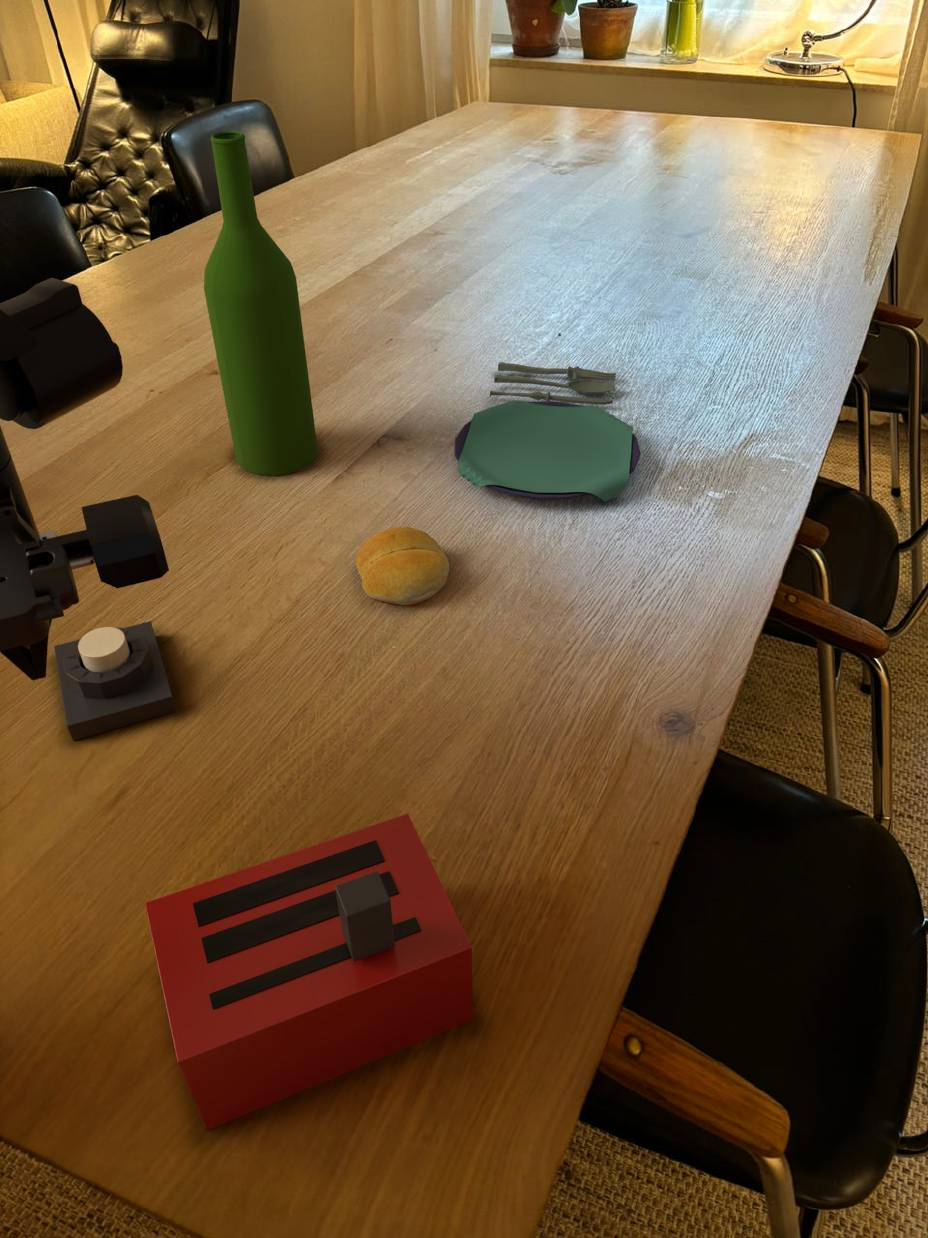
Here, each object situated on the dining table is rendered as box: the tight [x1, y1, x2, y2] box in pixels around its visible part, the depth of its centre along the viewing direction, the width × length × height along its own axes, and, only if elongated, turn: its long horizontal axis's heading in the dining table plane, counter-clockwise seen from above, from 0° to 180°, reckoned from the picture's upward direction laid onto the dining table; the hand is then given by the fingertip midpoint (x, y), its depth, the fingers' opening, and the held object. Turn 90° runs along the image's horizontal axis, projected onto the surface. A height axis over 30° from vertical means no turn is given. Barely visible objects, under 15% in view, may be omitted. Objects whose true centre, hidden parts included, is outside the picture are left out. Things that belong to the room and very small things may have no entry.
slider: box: [335, 872, 395, 962], centre depth 53 cm, size 2×2×4 cm
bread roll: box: [355, 526, 450, 606], centre depth 90 cm, size 8×9×4 cm
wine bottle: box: [203, 130, 318, 477], centre depth 98 cm, size 9×9×32 cm
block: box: [53, 620, 177, 742], centre depth 80 cm, size 8×10×4 cm
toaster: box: [144, 813, 474, 1131], centre depth 58 cm, size 16×10×8 cm, turn 113°
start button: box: [78, 626, 130, 673], centre depth 79 cm, size 4×4×2 cm
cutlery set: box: [454, 361, 642, 503], centre depth 110 cm, size 20×30×2 cm, turn 170°
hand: (39, 675), depth 64 cm, fingers closed
